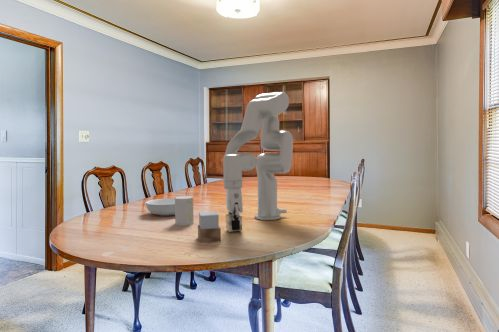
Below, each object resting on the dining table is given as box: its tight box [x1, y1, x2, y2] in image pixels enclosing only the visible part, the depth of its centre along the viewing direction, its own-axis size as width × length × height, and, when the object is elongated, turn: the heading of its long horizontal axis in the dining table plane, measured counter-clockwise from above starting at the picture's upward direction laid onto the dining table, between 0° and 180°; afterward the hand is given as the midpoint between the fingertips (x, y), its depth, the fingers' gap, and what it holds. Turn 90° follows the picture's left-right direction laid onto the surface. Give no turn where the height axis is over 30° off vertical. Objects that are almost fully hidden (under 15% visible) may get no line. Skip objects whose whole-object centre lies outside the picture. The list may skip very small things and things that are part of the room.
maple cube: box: [225, 213, 243, 233], centre depth 133 cm, size 6×6×6 cm
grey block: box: [198, 210, 220, 229], centre depth 121 cm, size 6×6×5 cm
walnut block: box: [197, 224, 222, 244], centre depth 122 cm, size 8×8×5 cm
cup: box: [174, 195, 195, 227], centre depth 146 cm, size 8×8×12 cm
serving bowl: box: [145, 197, 175, 217], centre depth 168 cm, size 21×21×7 cm
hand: (234, 227), depth 133 cm, fingers closed on maple cube, 5 cm apart
